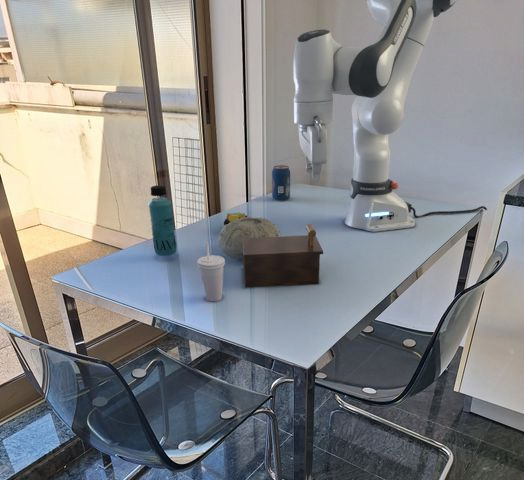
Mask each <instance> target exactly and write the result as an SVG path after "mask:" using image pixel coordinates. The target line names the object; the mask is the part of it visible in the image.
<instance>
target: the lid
mask: <svg viewBox="0 0 524 480" xmlns="http://www.w3.org/2000/svg"><path fill="white" fill-rule="evenodd" d="M305 229H306V231H307V234H306V235H305V234H303V235H285V236H280V237H260V238H242V245H243V255H244V258H254V257H275V256H296V255H317V254H320V255H324V250H323V248H322V245H321V244H320V242H319V240H318V237H317V231H316V229H315V227H314V226H313V224H312V223H307V224H306V226H305Z"/></svg>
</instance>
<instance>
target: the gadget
mask: <svg viewBox="0 0 524 480" xmlns="http://www.w3.org/2000/svg"><path fill="white" fill-rule="evenodd" d="M241 217H242V218H243V217H248V215H246V213H244V212H240V211H236V212H228V213H226V218H225V219H224V221H223V226H225V224H229V223H230V222H231V221H234V220H236V219H238V218H239V219H240V218H241Z"/></svg>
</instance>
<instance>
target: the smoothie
mask: <svg viewBox="0 0 524 480" xmlns="http://www.w3.org/2000/svg"><path fill="white" fill-rule="evenodd" d="M209 246H210V245H209V241H206V242H205V248H206V249H205V250H206V255H205V256H201V257H200V258H198V259H197V267H198V268H199V272H200V277H201V281H202V284H203V289H204V293H205V298H206V300H207V301H208V302H219V301H220V300H222V299H223V285H224V284H223V283H224V268H225V265H226V261H225V260H226V259H225V258H224V257H223V256H221V255H217V254H211V255H210V247H209Z"/></svg>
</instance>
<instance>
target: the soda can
mask: <svg viewBox="0 0 524 480" xmlns="http://www.w3.org/2000/svg"><path fill="white" fill-rule="evenodd" d="M271 197H272V198H273V200H274V201H277V202H286V201H288V200H289V199H290V197H291V170H290V168H289V165H283V164H280V165H275V166H273V168H272V171H271Z"/></svg>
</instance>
